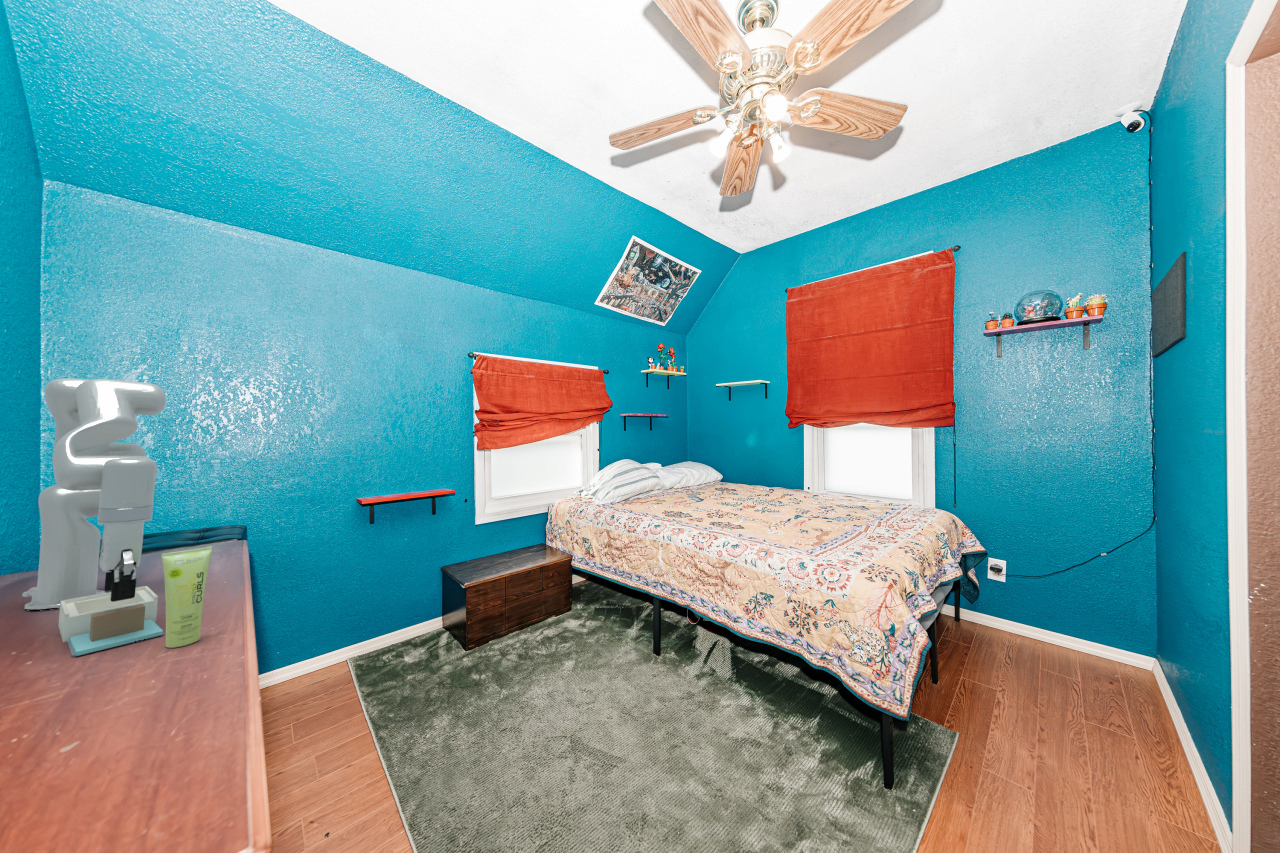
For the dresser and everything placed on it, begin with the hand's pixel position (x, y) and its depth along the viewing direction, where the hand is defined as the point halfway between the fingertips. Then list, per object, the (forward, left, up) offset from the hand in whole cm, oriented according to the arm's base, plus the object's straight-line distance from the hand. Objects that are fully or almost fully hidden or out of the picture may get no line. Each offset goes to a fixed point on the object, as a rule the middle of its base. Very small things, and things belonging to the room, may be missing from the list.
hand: (119, 594), depth 91 cm
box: (-10, +9, -9) cm, 16 cm away
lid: (+1, 0, -9) cm, 9 cm away
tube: (+16, -4, -10) cm, 19 cm away
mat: (0, 0, -9) cm, 9 cm away
